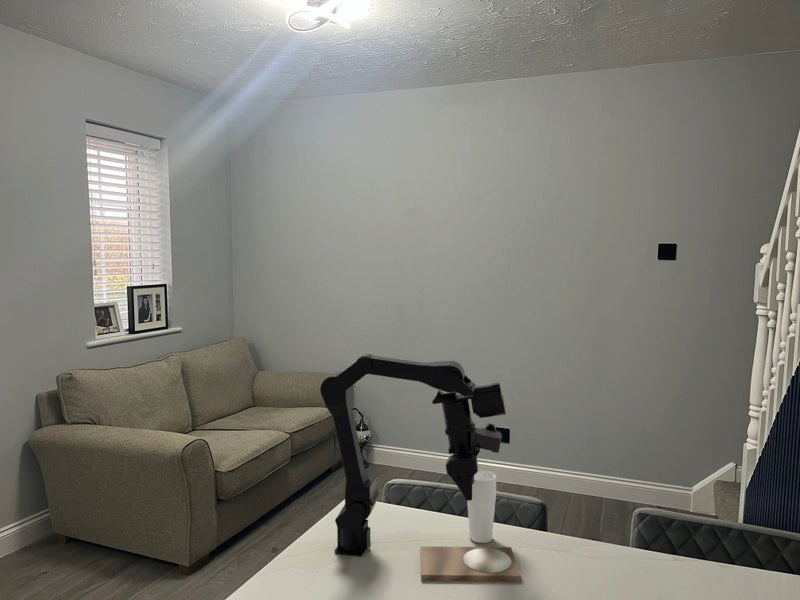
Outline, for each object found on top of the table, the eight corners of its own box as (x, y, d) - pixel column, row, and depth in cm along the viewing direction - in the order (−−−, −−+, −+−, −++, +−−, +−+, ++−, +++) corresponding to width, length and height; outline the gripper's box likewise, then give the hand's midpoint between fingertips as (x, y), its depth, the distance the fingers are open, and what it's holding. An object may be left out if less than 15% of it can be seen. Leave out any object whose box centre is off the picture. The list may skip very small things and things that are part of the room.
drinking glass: (495, 547, 133) (495, 481, 133) (464, 544, 135) (465, 479, 134) (496, 533, 140) (496, 471, 139) (467, 531, 141) (467, 469, 141)
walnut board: (421, 580, 119) (421, 574, 119) (420, 551, 131) (420, 545, 131) (521, 581, 119) (521, 574, 119) (511, 552, 131) (511, 546, 131)
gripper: (495, 427, 117) (509, 505, 117) (496, 405, 135) (507, 472, 136) (439, 435, 119) (453, 511, 119) (447, 411, 137) (459, 477, 137)
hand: (470, 491), depth 128 cm, fingers open, 9 cm apart
